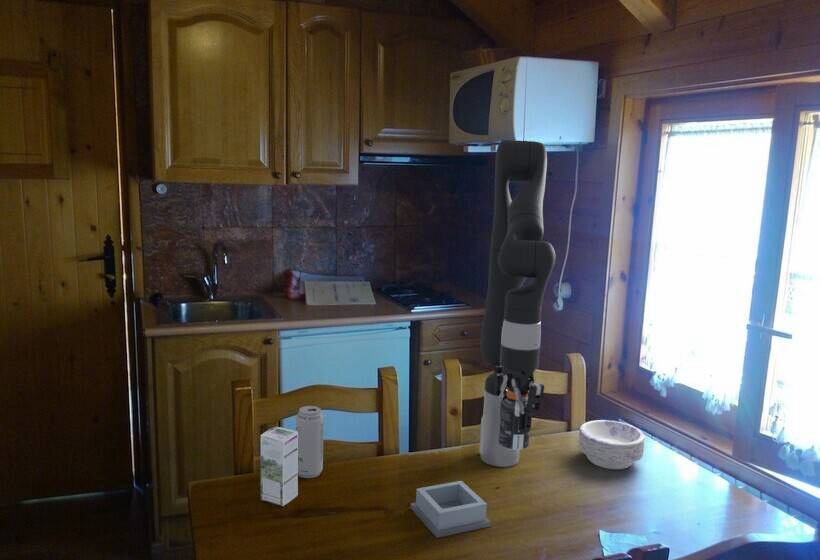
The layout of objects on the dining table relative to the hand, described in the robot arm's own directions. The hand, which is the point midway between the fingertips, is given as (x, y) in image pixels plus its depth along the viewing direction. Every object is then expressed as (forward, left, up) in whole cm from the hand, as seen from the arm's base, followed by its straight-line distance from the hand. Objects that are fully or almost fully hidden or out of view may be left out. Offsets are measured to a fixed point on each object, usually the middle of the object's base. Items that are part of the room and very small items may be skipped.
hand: (514, 424), depth 136 cm
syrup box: (-23, -41, -20) cm, 51 cm away
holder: (-4, -11, -20) cm, 23 cm away
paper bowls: (-14, +38, -20) cm, 45 cm away
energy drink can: (-32, -32, -20) cm, 49 cm away
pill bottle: (0, 0, -4) cm, 4 cm away
